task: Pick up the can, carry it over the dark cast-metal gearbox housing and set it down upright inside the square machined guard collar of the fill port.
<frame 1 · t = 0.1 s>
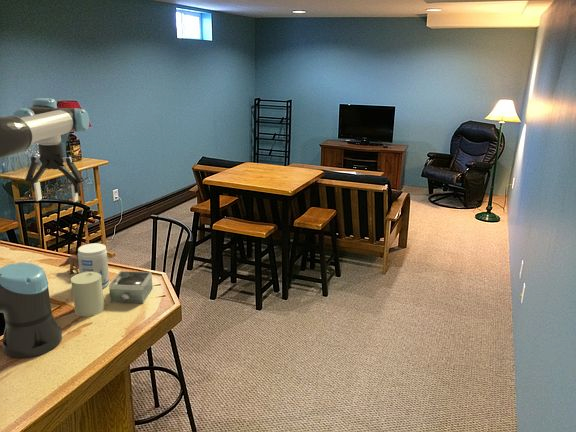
hand: (57, 200, 175), 28 cm above the bar counter, fingers open, 13 cm apart
can: (89, 309, 156), on the bar counter
gearbox: (132, 295, 166), on the bar counter
dinosaur figurine: (79, 272, 183), on the bar counter
supplement tub: (95, 285, 172), on the bar counter
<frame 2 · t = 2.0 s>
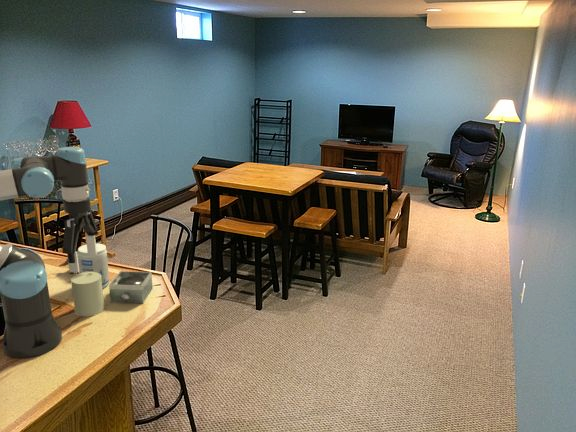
hand: (83, 262, 151), 17 cm above the bar counter, fingers open, 13 cm apart
nothing on the bar counter moved.
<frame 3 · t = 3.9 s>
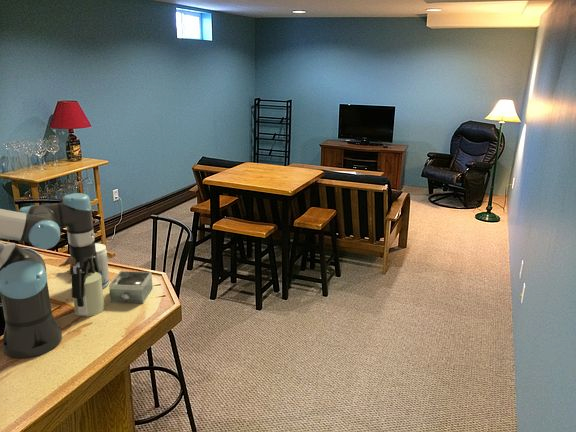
hand: (89, 306, 156), 1 cm above the bar counter, fingers closed on can, 9 cm apart
can: (89, 309, 156), on the bar counter, touching gripper
everything else where it was.
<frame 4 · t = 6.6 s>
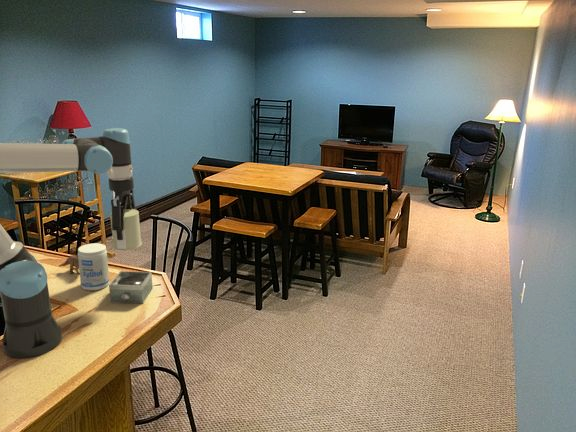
hand: (127, 242, 159), 20 cm above the bar counter, fingers closed on can, 9 cm apart
can: (127, 245, 160), point 19 cm above the bar counter, touching gripper
everything else where it was.
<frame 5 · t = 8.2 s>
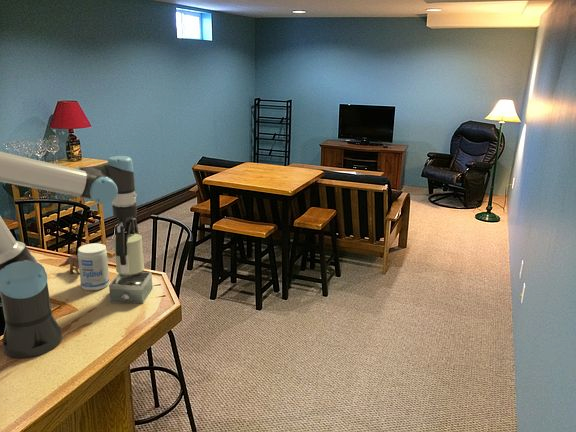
hand: (130, 266, 162), 11 cm above the bar counter, fingers closed on can, 9 cm apart
can: (130, 269, 163), point 10 cm above the bar counter, touching gripper
everything else where it was.
when the fingers open (8 cm above the bar counter, at t = 9.3 s): can drops 2 cm, resting on gearbox.
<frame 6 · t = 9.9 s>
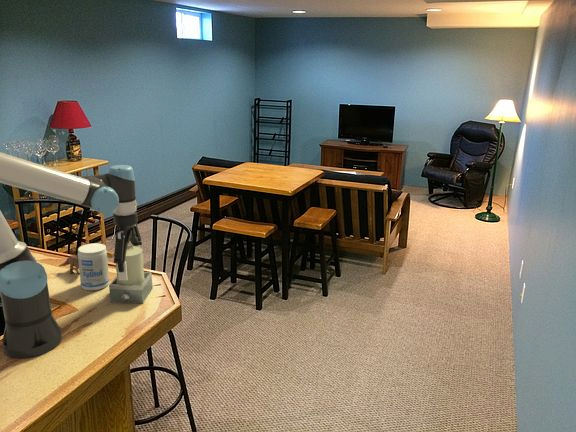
hand: (130, 271, 163), 9 cm above the bar counter, fingers open, 13 cm apart
can: (131, 282, 164), point 5 cm above the bar counter, touching gearbox
everything else where it was.
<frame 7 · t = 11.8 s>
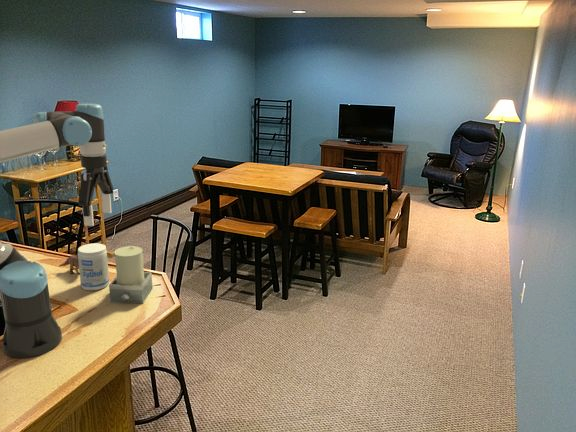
hand: (98, 218, 155), 29 cm above the bar counter, fingers open, 13 cm apart
nothing on the bar counter moved.
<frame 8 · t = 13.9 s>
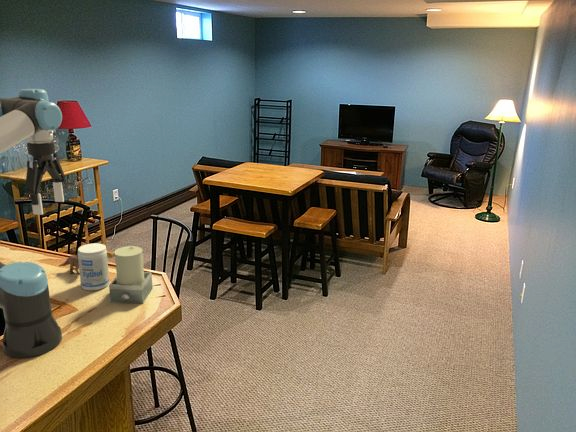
hand: (49, 207, 151), 33 cm above the bar counter, fingers open, 13 cm apart
nothing on the bar counter moved.
at the end: can 0.1 cm from the gearbox (horizontally); can tilted 0°; can touching gearbox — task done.
